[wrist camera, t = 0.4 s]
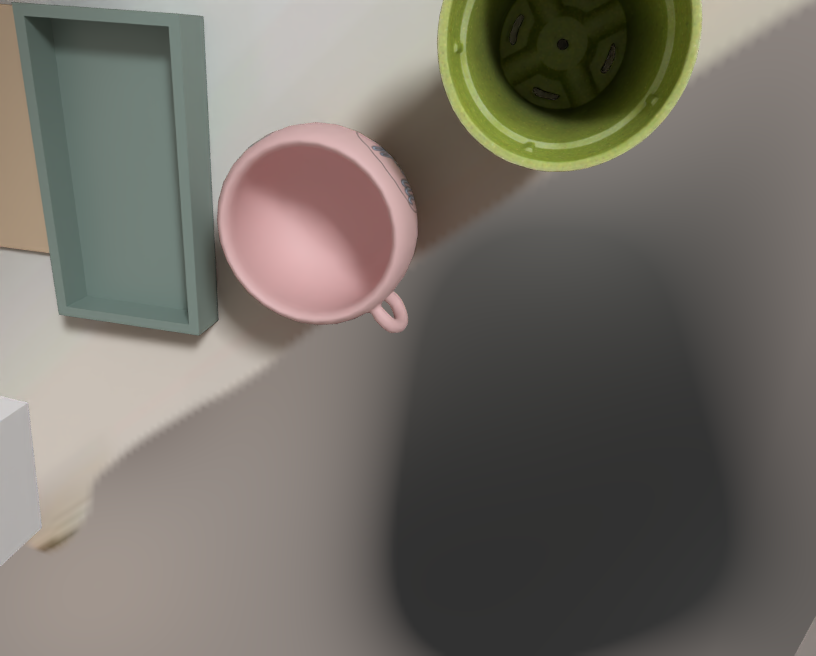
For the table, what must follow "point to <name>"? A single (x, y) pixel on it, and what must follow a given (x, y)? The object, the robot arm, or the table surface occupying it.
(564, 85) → the plant pot
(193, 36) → the tray
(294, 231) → the mug
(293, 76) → the table surface
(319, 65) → the table surface
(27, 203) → the tan board
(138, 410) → the table surface
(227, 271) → the table surface
